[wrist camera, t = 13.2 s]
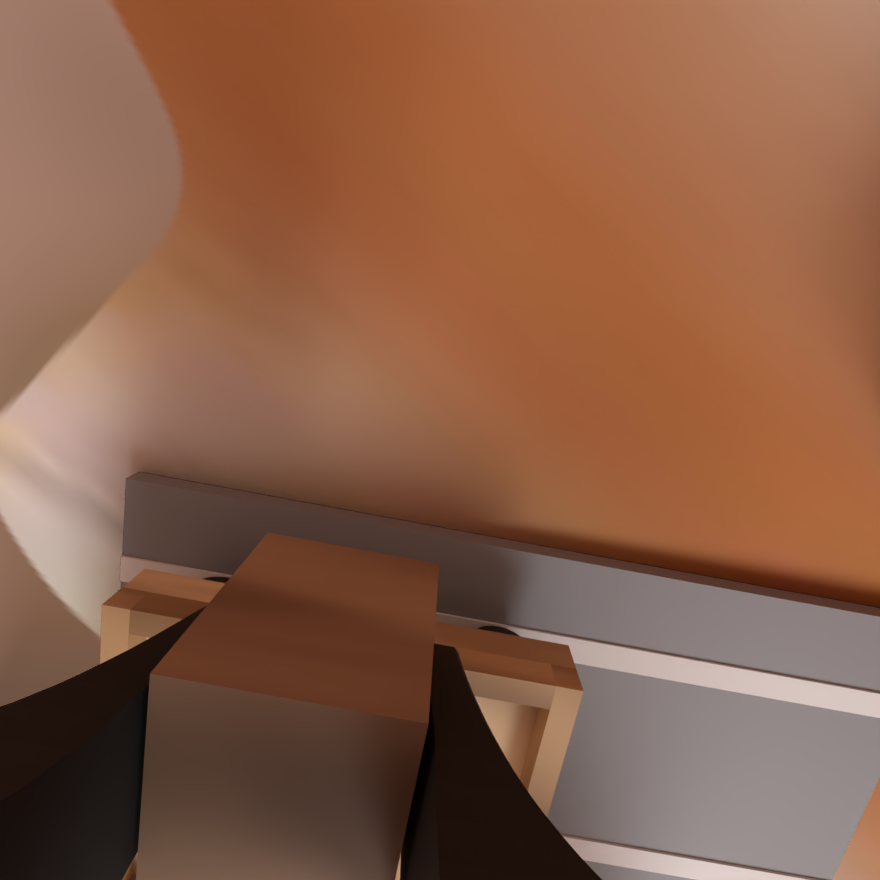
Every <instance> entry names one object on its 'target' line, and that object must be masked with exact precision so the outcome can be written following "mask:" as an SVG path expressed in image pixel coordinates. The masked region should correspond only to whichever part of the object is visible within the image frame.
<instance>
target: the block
mask: <svg viewBox="0 0 880 880" xmlns="http://www.w3.org/2000/svg"><path fill="white" fill-rule="evenodd" d="M438 576H439V564H437V563H432V562H426V561H421V560H415V559H410V558H404V557H399V556H394V555H388V554H383V553H377V552H372V551H367V550H361V549H356V548H350V547H345V546H340V545H334V544H329V543H323V542H318V541H313V540H307V539H302V538H296V537H291V536H286V535H280V534H275V533H269V532H268V533H267V534H266V536H265V537H264V538H263V539H262V540H261V542H260V543H259V544H258V545H257V546H256V547H255V549H254V550H253V551H252V552H251V553H250V555H249V556H248V557H247V558H246V559H245V561H244V562H243V563H242V564H241V565H240V567H239V568H238V569H237V570H236V571H235V573H234V574H233V575H232V576H231V577H230V579H229V580H228V581H227V582H226V583H225V585H224V586H223V587H222V588H221V589H220V590H219V592H218V593H217V594H216V595H215V596H214V598H213V599H212V600H211V601H210V602H209V604H208V605H207V606H206V607H205V608H204V610H203V611H202V612H201V613H200V614H199V616H198V617H197V618H196V619H195V620H194V622H193V623H192V624H191V625H190V626H189V628H188V629H187V630H186V631H185V632H184V633H183V635H182V636H181V637H180V638H179V639H178V641H177V642H176V643H175V644H174V645H173V647H172V648H171V649H170V650H169V651H168V653H167V654H166V655H165V656H164V657H163V659H162V660H161V661H160V662H159V663H158V665H157V666H156V667H155V668H154V669H153V671H152V672H151V673H150V681H149V695H148V710H147V724H146V739H145V754H144V768H143V783H142V797H141V812H140V827H139V841H138V856H137V870H136V880H395V878H396V873H397V868H398V864H399V859H400V854H401V850H402V845H403V840H404V836H405V831H406V826H407V822H408V817H409V812H410V808H411V803H412V798H413V794H414V789H415V784H416V780H417V775H418V771H419V766H420V761H421V757H422V752H423V747H424V743H425V738H426V733H427V729H428V724H429V709H430V695H431V680H432V665H433V650H434V635H435V620H436V605H437V590H438Z"/></svg>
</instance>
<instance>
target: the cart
mask: <svg viewBox="0 0 880 880" xmlns="http://www.w3.org/2000/svg"><path fill="white" fill-rule="evenodd" d="M229 579H230V578H228V577H208V578H203V579H199V578H194V577H188V576H183V575H177V574H171V573H166V572H160V571H155V570H149V569H144V570H143V571H141V572H140V573H139V574H138V575H137V576H135V577H134V578H133V579H132V580H131V581H130V582H128V583H127V584H126V585H125V586H124V587H122V588H121V589H120V590H119V591H118V592H117V593H115V594H114V595H113V596H112V597H111V598H109V599H108V600H107V601H106V602H105V603H104V604H102V620H101V647H100V664H101V663H103V662H105V661H107V660H109V659H111V658H113V657H115V656H117V655H119V654H121V653H123V652H125V651H127V650H129V649H131V648H133V647H135V646H136V645H138V644H140V643H142V642H144V641H145V640H147V639H149V638H151V637H153V636H154V635H156V634H158V633H160V632H161V631H163V630H165V629H167V628H169V627H170V626H172V625H174V624H175V623H177V622H179V621H181V620H182V619H184V618H186V617H187V616H189V615H191V614H193V613H194V612H196V611H198V610H200V609H201V608H203V607H205V606H207V605H208V604H209V602H210V601H211V600H212V599H213V598H214V596H215V595H216V594H217V593H218V592H219V590H220V589H221V588H222V587H223V586H224V585H225V583H226V582H227V581H228V580H229ZM434 643H435V644H440V645H446V646H451V647H455V649H456V650H457V652H458V653H459V657H460V660H461V663H462V666H463V669H464V671H465V674H466V677H467V679H468V682H469V684H470V687H471V689H472V691H473V694H474V696H475V698H476V701H477V703H478V705H479V707H480V709H481V711H482V713H483V715H484V717H485V719H486V721H487V724H488V725H489V727H490V729H491V731H492V733H493V735H494V737H495V739H496V740H497V742H498V744H499V746H500V748H501V749H502V751H503V753H504V755H505V756H506V758H507V760H508V761H509V763H510V765H511V766H512V768H513V770H514V771H515V773H516V774H517V776H518V777H519V779H520V780H521V782H522V783H523V785H524V786H525V788H526V789H527V791H528V792H529V794H530V795H531V797H532V798H533V799H534V801H535V802H536V803H537V805H538V806H539V808H540V809H541V810H542V812H543V813H544V814H545V815H546V816H548V812H549V809H550V806H551V802H552V799H553V795H554V792H555V788H556V785H557V781H558V778H559V774H560V771H561V768H562V764H563V761H564V757H565V754H566V750H567V747H568V743H569V740H570V737H571V733H572V730H573V726H574V723H575V719H576V716H577V712H578V709H579V706H580V702H581V699H582V695H583V692H584V691H583V688H582V685H581V682H580V679H579V676H578V673H577V670H576V667H575V664H574V661H573V657H572V654H571V651H570V648H569V645H564V644H558V643H553V642H547V641H542V640H536V639H531V638H525V637H520V636H519V635H518V634H516V633H515V632H513V631H511V630H508V629H506V628H503V627H499V626H482V627H479V628H477V629H476V628H470V627H465V626H459V625H453V624H448V623H442V622H437V621H435V635H434ZM137 856H138V852H137V854H136V856H135V857H134V859H133V861H132V863H131V864H130V866H129V868H128V870H127V872H126V874H125V876H124V878H123V879H122V880H136V870H137ZM400 865H401V854H400V859H399V864H398V868H397V873H396V878H395V880H400Z"/></svg>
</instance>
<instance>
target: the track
mask: <svg viewBox="0 0 880 880" xmlns="http://www.w3.org/2000/svg"><path fill="white" fill-rule="evenodd" d="M268 532H269V533H275V534H280V535H286V536H291V537H296V538H302V539H307V540H313V541H318V542H323V543H329V544H334V545H340V546H345V547H350V548H356V549H361V550H367V551H372V552H377V553H383V554H388V555H394V556H399V557H404V558H410V559H415V560H421V561H426V562H432V563H437V564H439V576H438V590H437V605H436V620H435V621H437V622H442V623H448V624H453V625H459V626H465V627H470V628H476V629H477V628H479V627H482V626H499V627H503V628H506V629H508V630H511V631H513V632H515V633H516V634H518V635H519V636H520V637H525V638H531V639H536V640H542V641H547V642H553V643H558V644H564V645H569V648H570V651H571V654H572V657H573V661H574V664H575V667H576V670H577V673H578V676H579V679H580V682H581V685H582V688H583V691H584V692H583V695H582V699H581V702H580V706H579V709H578V712H577V716H576V719H575V723H574V726H573V730H572V733H571V737H570V740H569V743H568V747H567V750H566V754H565V757H564V761H563V764H562V768H561V771H560V774H559V778H558V781H557V785H556V788H555V792H554V795H553V799H552V802H551V806H550V809H549V812H548V816H547V818H548V819H549V820H550V821H551V823H552V824H553V825H554V826H555V827H556V829H557V830H558V831H559V832H560V834H561V835H562V836H563V837H564V838H565V840H566V841H567V842H568V843H569V844H570V846H571V847H572V848H573V849H574V850H575V851H576V852H577V854H578V855H579V856H580V857H581V858H582V859H583V860H584V861H585V862H586V863H587V864H588V865H589V866H590V868H591V869H592V870H593V871H594V872H595V873H596V874H597V875H598V876H599V877H600V878H601V879H602V880H832V879H833V877H834V875H835V873H836V870H837V868H838V866H839V864H840V862H841V860H842V858H843V855H844V853H845V851H846V849H847V847H848V845H849V842H850V840H851V838H852V836H853V834H854V832H855V830H856V827H857V825H858V823H859V821H860V819H861V817H862V814H863V812H864V810H865V808H866V806H867V804H868V802H869V799H870V797H871V795H872V793H873V791H874V789H875V787H876V784H877V782H878V780H879V778H880V608H877V607H871V606H866V605H860V604H855V603H850V602H844V601H839V600H833V599H828V598H822V597H817V596H811V595H806V594H801V593H795V592H790V591H784V590H779V589H773V588H768V587H762V586H757V585H752V584H746V583H741V582H735V581H730V580H724V579H719V578H713V577H708V576H703V575H697V574H692V573H686V572H681V571H675V570H670V569H664V568H659V567H654V566H648V565H643V564H637V563H632V562H626V561H621V560H615V559H610V558H605V557H599V556H594V555H588V554H583V553H577V552H572V551H567V550H561V549H556V548H550V547H545V546H539V545H534V544H528V543H523V542H518V541H512V540H507V539H501V538H496V537H490V536H485V535H479V534H474V533H469V532H463V531H458V530H452V529H447V528H441V527H436V526H430V525H425V524H420V523H414V522H409V521H403V520H398V519H392V518H387V517H381V516H376V515H371V514H365V513H360V512H354V511H349V510H343V509H338V508H332V507H327V506H322V505H316V504H311V503H305V502H300V501H294V500H289V499H283V498H278V497H273V496H267V495H262V494H256V493H251V492H245V491H240V490H234V489H229V488H224V487H218V486H213V485H207V484H202V483H196V482H191V481H185V480H180V479H175V478H169V477H164V476H158V475H153V474H147V473H142V472H138V473H136V474H134V475H132V476H130V477H128V478H126V489H125V510H124V532H123V553H122V556H121V562H120V581H121V588H122V587H124V586H125V585H126V584H127V583H128V582H130V581H131V580H132V579H133V578H134V577H135V576H137V575H138V574H139V573H140V572H141V571H143V570H144V569H149V570H155V571H160V572H166V573H171V574H177V575H183V576H188V577H194V578H199V579H203V578H208V577H228V578H230V577H231V576H232V575H233V574H234V573H235V571H236V570H237V569H238V568H239V567H240V565H241V564H242V563H243V562H244V561H245V559H246V558H247V557H248V556H249V555H250V553H251V552H252V551H253V550H254V549H255V547H256V546H257V545H258V544H259V543H260V542H261V540H262V539H263V538H264V537H265V536H266V534H267V533H268Z"/></svg>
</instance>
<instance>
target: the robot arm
mask: <svg viewBox="0 0 880 880" xmlns="http://www.w3.org/2000/svg"><path fill="white" fill-rule="evenodd" d="M205 607H206V606H205ZM205 607H203V608H201V609H200V610H198V611H196V612H194V613H193V614H191V615H189V616H187V617H186V618H184V619H182V620H181V621H179V622H177V623H175V624H174V625H172V626H170V627H169V628H167V629H165V630H163V631H161V632H160V633H158V634H156V635H154V636H153V637H151V638H149V639H147V640H145V641H144V642H142V643H140V644H138V645H136V646H135V647H133V648H131V649H129V650H127V651H125V652H123V653H121V654H119V655H117V656H115V657H113V658H111V659H109V660H107V661H105V662H103V663H101V664H99V665H97V666H95V667H93V668H92V669H89V670H87V671H85V672H84V673H81V674H79V675H77V676H75V677H73V678H70V679H68V680H66V681H64V682H62V683H59V684H57V685H55V686H52V687H50V688H47V689H45V690H42V691H40V692H38V693H35V694H33V695H30V696H28V697H26V698H23V699H20V700H18V701H16V702H13V703H10V704H7V705H4V706H1V707H0V880H122V879H123V878H124V876H125V874H126V872H127V870H128V868H129V866H130V864H131V863H132V861H133V859H134V857H135V856H136V854H137V852H138V841H139V827H140V812H141V797H142V783H143V768H144V754H145V739H146V724H147V710H148V695H149V681H150V673H151V672H152V671H153V669H154V668H155V667H156V666H157V665H158V663H159V662H160V661H161V660H162V659H163V657H164V656H165V655H166V654H167V653H168V651H169V650H170V649H171V648H172V647H173V645H174V644H175V643H176V642H177V641H178V639H179V638H180V637H181V636H182V635H183V633H184V632H185V631H186V630H187V629H188V628H189V626H190V625H191V624H192V623H193V622H194V620H195V619H196V618H197V617H198V616H199V614H200V613H201V612H202V611H203V610H204V608H205ZM400 880H602V879H601V878H600V877H599V876H598V875H597V874H596V873H595V872H594V871H593V870H592V869H591V868H590V866H589V865H588V864H587V863H586V862H585V861H584V860H583V859H582V858H581V857H580V856H579V855H578V854H577V852H576V851H575V850H574V849H573V848H572V847H571V846H570V844H569V843H568V842H567V841H566V840H565V838H564V837H563V836H562V835H561V834H560V832H559V831H558V830H557V829H556V827H555V826H554V825H553V824H552V823H551V821H550V820H549V819H548V818H547V816H546V815H545V814H544V813H543V812H542V810H541V809H540V808H539V806H538V805H537V803H536V802H535V801H534V799H533V798H532V797H531V795H530V794H529V792H528V791H527V789H526V788H525V786H524V785H523V783H522V782H521V780H520V779H519V777H518V776H517V774H516V773H515V771H514V770H513V768H512V766H511V765H510V763H509V761H508V760H507V758H506V756H505V755H504V753H503V751H502V749H501V748H500V746H499V744H498V742H497V740H496V739H495V737H494V735H493V733H492V731H491V729H490V727H489V725H488V724H487V721H486V719H485V717H484V715H483V713H482V711H481V709H480V707H479V705H478V703H477V701H476V698H475V696H474V694H473V691H472V689H471V687H470V684H469V682H468V679H467V677H466V674H465V671H464V669H463V666H462V663H461V660H460V657H459V653H458V652H457V650H456V649H455V647H451V646H446V645H440V644H435V643H434V650H433V665H432V680H431V695H430V709H429V724H428V729H427V733H426V738H425V743H424V747H423V752H422V757H421V761H420V766H419V771H418V775H417V780H416V784H415V789H414V794H413V798H412V803H411V808H410V812H409V817H408V822H407V826H406V831H405V836H404V840H403V845H402V850H401V865H400Z"/></svg>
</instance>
